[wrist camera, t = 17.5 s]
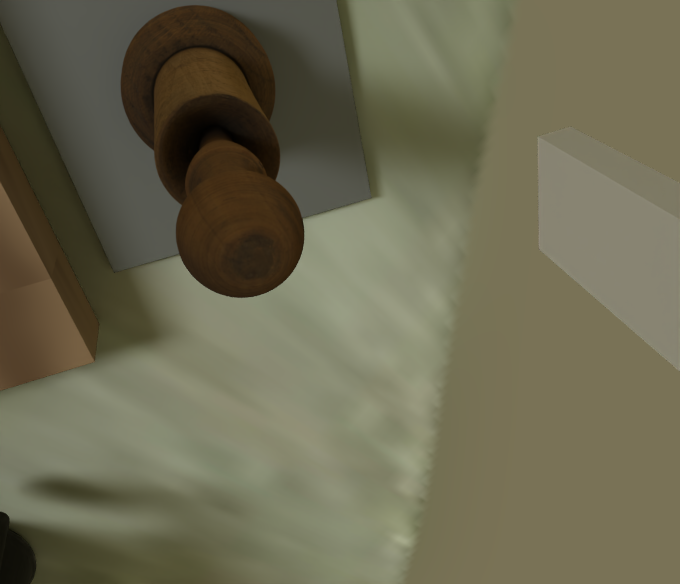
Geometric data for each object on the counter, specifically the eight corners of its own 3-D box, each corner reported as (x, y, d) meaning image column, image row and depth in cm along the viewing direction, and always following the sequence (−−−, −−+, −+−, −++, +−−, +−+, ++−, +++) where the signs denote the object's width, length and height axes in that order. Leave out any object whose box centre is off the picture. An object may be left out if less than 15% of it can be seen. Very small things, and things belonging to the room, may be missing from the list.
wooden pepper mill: (175, -31, 27) (209, 39, 12) (296, 65, 30) (446, 217, 15) (93, 100, 28) (31, 308, 13) (216, 177, 31) (278, 416, 16)
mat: (114, 267, 33) (114, 272, 33) (-44, -82, 24) (-48, -83, 24) (368, 193, 35) (371, 197, 34) (304, -159, 26) (307, -161, 25)
